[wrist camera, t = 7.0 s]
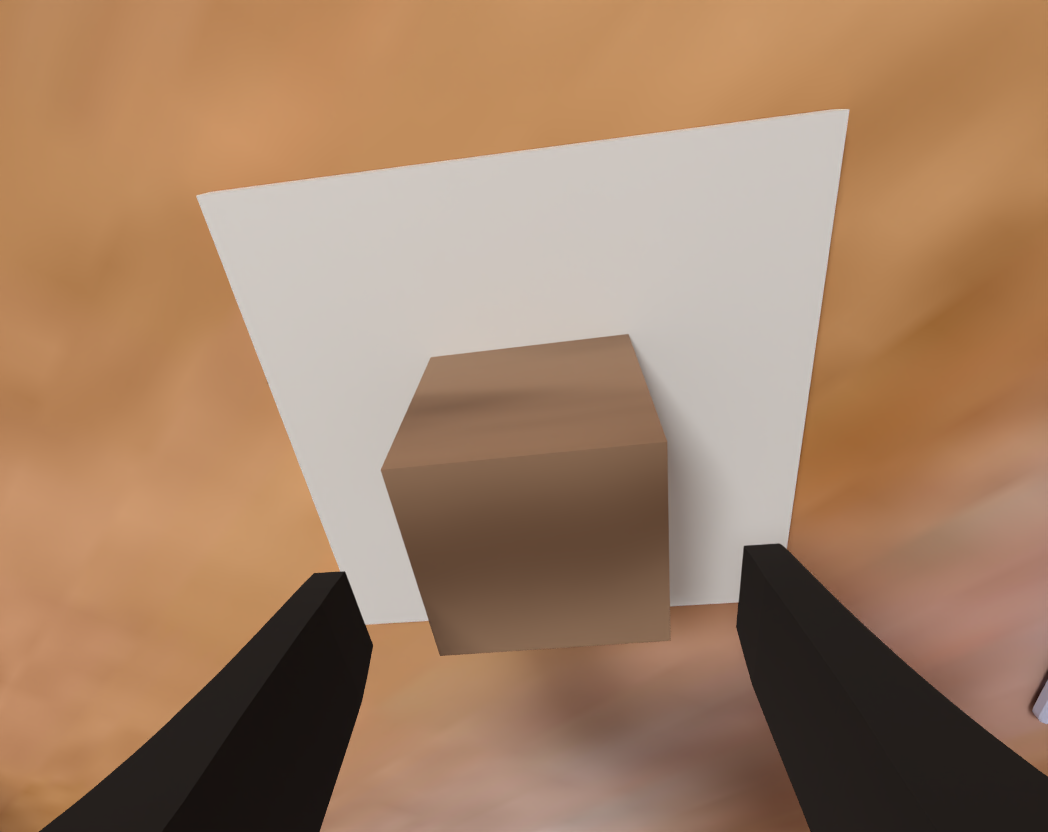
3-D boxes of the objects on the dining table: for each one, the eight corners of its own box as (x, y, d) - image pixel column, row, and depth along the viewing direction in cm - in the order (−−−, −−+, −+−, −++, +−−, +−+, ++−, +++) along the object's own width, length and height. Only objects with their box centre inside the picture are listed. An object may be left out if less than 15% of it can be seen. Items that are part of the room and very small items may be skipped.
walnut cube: (636, 495, 16) (670, 640, 12) (467, 510, 17) (439, 655, 12) (628, 334, 14) (667, 442, 9) (430, 357, 14) (380, 470, 10)
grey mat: (772, 586, 19) (779, 600, 18) (365, 610, 20) (360, 624, 19) (836, 109, 12) (849, 109, 11) (210, 191, 13) (196, 195, 12)
